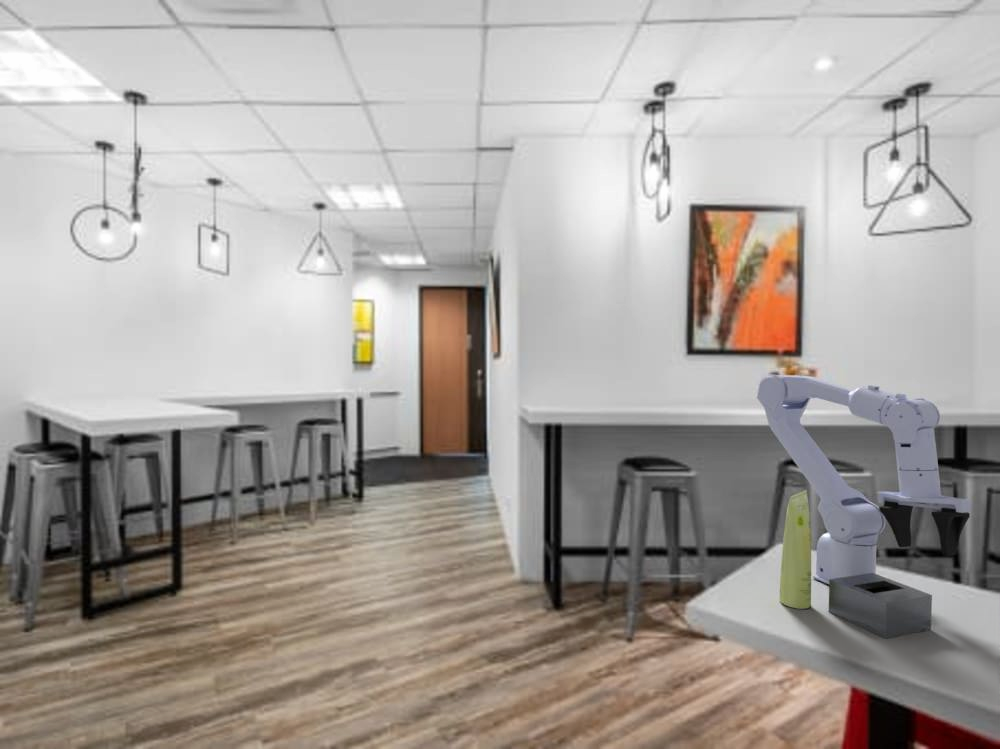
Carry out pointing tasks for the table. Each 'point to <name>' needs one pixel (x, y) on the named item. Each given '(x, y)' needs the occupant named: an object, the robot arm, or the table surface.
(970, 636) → the table surface
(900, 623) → the box
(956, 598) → the table surface
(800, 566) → the tube
